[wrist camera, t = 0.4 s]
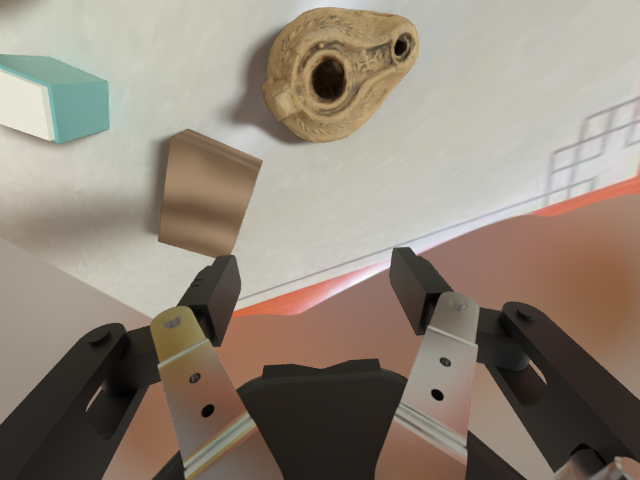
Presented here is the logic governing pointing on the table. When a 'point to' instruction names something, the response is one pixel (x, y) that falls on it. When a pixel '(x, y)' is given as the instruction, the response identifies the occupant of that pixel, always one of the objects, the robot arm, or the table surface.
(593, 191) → the table surface
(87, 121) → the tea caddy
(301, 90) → the oil lamp
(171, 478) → the robot arm
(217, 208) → the brown rectangular block
